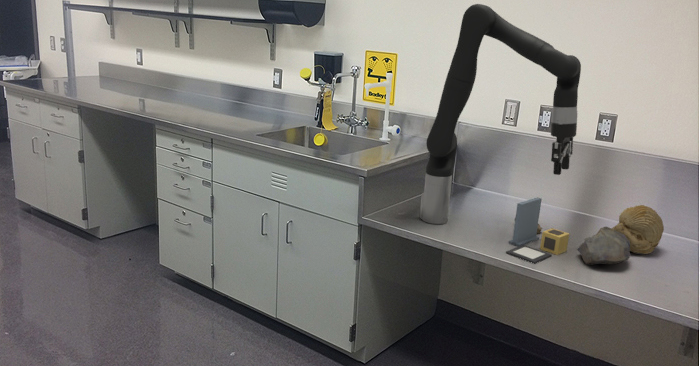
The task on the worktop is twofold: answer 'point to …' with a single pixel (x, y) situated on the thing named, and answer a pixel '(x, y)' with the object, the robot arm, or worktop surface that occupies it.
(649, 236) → the fossil
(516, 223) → the screen
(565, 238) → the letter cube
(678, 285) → the worktop surface
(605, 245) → the stone
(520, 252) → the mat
